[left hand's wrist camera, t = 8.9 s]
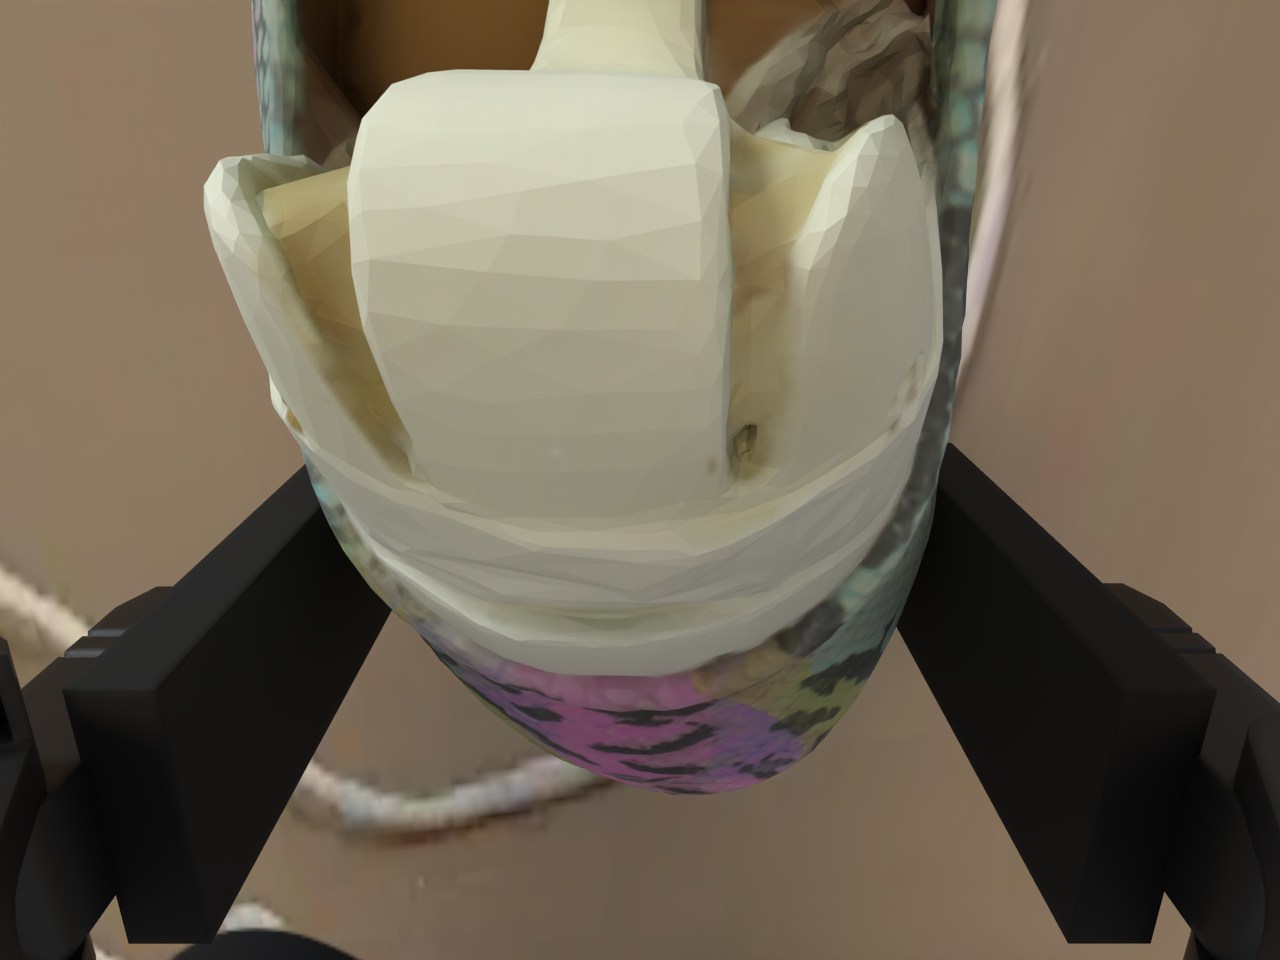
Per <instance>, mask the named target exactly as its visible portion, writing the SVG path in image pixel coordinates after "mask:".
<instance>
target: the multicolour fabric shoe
mask: <svg viewBox="0 0 1280 960" xmlns="http://www.w3.org/2000/svg"><path fill="white" fill-rule="evenodd" d="M996 1H997V0H251V6H252V27H253V49H254V64H255V72H256V81H257V90H258V98H259V107H260V115H261V124H262V133H263V141H264V150H265V153H264V154H256V155H247V156H239V157H226V158H224V159H221V160H220V161H219V162H218V164H217V166H216V167H215V169H214V170H213V172H212V174H211V175H210V177H209V179H208V180H207V182H206V183H205V185H204V211H205V215H206V219H207V222H208V226H209V230H210V234H211V238H212V242H213V246H214V248H215V251H216V253H217V256H218V258H219V260H220V263H221V265H222V268H223V270H224V273H225V275H226V278H227V280H228V283H229V285H230V288H231V290H232V293H233V295H234V297H235V300H236V302H237V305H238V307H239V310H240V312H241V315H242V317H243V320H244V322H245V324H246V326H247V328H248V330H249V332H250V334H251V336H252V339H253V341H254V343H255V345H256V347H257V349H258V351H259V353H260V355H261V358H262V360H263V362H264V364H265V366H266V368H267V370H268V372H269V378H270V389H271V400H272V405H273V407H274V408H275V409H276V411H277V412H278V414H279V415H280V417H281V418H282V420H283V421H284V423H285V424H286V426H287V427H288V429H289V430H290V432H291V433H292V435H293V436H294V438H295V439H296V440H297V442H298V443H299V445H300V446H301V450H302V453H303V457H304V460H305V463H306V467H307V470H308V473H309V476H310V480H311V483H312V486H313V488H314V491H315V493H316V496H317V498H318V500H319V503H320V505H321V508H322V510H323V512H324V514H325V517H326V519H327V521H328V523H329V525H330V527H331V529H332V531H333V533H334V534H335V536H336V538H337V540H338V542H339V543H340V545H341V547H342V549H343V551H344V552H345V553H346V555H347V556H348V557H349V559H350V560H351V562H352V563H353V564H354V566H355V567H356V568H357V570H358V571H359V572H360V574H361V575H362V577H363V578H364V579H365V581H366V582H367V583H368V585H369V586H370V587H371V589H372V590H373V591H374V592H375V593H376V594H377V595H378V596H379V597H380V598H381V599H382V600H383V601H384V602H385V603H386V604H387V605H388V606H389V607H390V608H391V609H392V610H393V611H394V612H395V613H396V614H397V615H398V616H399V617H400V618H401V619H403V620H404V621H406V622H407V623H409V624H410V625H411V626H412V627H413V628H414V629H415V630H416V631H417V632H418V633H419V634H420V635H421V637H422V638H423V640H424V641H425V642H426V643H427V644H428V645H429V646H430V647H431V648H432V650H433V651H434V652H435V654H436V655H437V657H438V658H439V659H440V661H442V662H443V663H444V664H445V665H446V666H447V667H448V668H449V669H450V670H451V671H452V672H453V673H454V674H455V675H456V676H457V677H458V679H459V680H460V681H461V682H462V683H463V684H464V685H465V686H466V687H467V688H468V689H469V690H470V691H471V692H472V694H473V695H474V696H476V697H477V698H478V699H479V700H480V701H481V702H482V703H483V704H484V705H485V706H486V707H487V708H488V709H489V710H491V711H492V712H493V713H494V714H496V715H497V716H498V717H499V718H501V719H502V720H503V721H505V722H506V723H507V724H508V725H509V726H511V727H512V728H513V729H515V730H516V731H518V732H519V733H521V734H522V735H523V736H524V737H525V738H526V739H528V740H529V741H530V742H532V743H533V744H535V745H537V746H538V747H540V748H541V749H543V750H544V751H546V752H548V753H550V754H551V755H553V756H555V757H557V758H559V759H561V760H563V761H566V762H568V763H570V764H573V765H575V766H578V767H581V768H584V769H586V770H589V771H591V772H593V773H596V774H598V775H600V776H603V777H607V778H610V779H613V780H616V781H619V782H622V783H626V784H629V785H632V786H635V787H639V788H642V789H646V790H649V791H657V792H665V793H669V794H674V795H705V794H716V793H721V792H726V791H731V790H736V789H740V788H743V787H747V786H750V785H753V784H756V783H760V782H762V781H764V780H766V779H768V778H770V777H772V776H774V775H776V774H778V773H780V772H781V771H783V770H785V769H787V768H789V767H790V766H792V765H794V764H795V763H797V762H798V761H800V760H801V759H802V758H804V757H805V756H806V755H807V754H809V753H810V752H812V751H813V750H814V749H815V747H816V746H817V745H818V744H819V743H820V742H821V741H822V740H823V739H824V738H825V736H826V735H827V734H828V733H829V732H830V730H831V729H832V728H833V727H834V726H835V725H836V723H837V722H838V721H839V720H840V719H841V717H842V716H843V715H844V714H845V712H846V711H847V710H848V708H849V707H850V706H851V704H852V703H853V702H854V700H855V699H856V698H857V696H858V695H859V693H860V691H861V690H862V688H863V686H864V685H865V683H866V681H867V680H868V678H869V676H870V675H871V673H872V671H873V670H874V668H875V666H876V664H877V662H878V661H879V659H880V657H881V655H882V653H883V651H884V649H885V647H886V645H887V644H888V642H889V640H890V638H891V636H892V634H893V632H894V630H895V628H896V626H897V623H898V621H899V618H900V616H901V613H902V611H903V608H904V606H905V603H906V601H907V598H908V595H909V593H910V590H911V588H912V585H913V583H914V580H915V578H916V575H917V572H918V569H919V566H920V563H921V560H922V557H923V554H924V551H925V548H926V545H927V542H928V539H929V535H930V531H931V527H932V523H933V517H934V510H935V503H936V493H937V483H938V476H939V469H940V466H941V463H942V459H943V456H944V453H945V449H946V446H947V442H948V439H949V432H950V426H951V419H952V412H953V406H954V399H955V390H956V379H957V374H958V369H959V364H960V360H961V342H962V325H963V321H964V318H965V310H966V289H967V274H968V260H969V233H970V224H971V215H972V207H973V200H974V194H975V187H976V181H977V153H978V141H979V134H980V127H981V119H982V110H983V101H984V91H985V81H986V70H987V61H988V52H989V44H990V37H991V31H992V25H993V20H994V14H995V9H996Z"/></svg>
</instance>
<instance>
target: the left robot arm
mask: <svg viewBox="0 0 1280 960" xmlns="http://www.w3.org/2000/svg"><path fill="white" fill-rule="evenodd" d="M391 611H392V609H391V608H390V607H389V606H388V605H387V604H386V603H385V602H384V601H383V600H382V599H381V598H380V597H379V596H378V595H377V594H376V593H375V592H374V591H373V590H372V589H371V587H370V586H369V585H368V583H367V582H366V581H365V579H364V578H363V577H362V575H361V574H360V572H359V571H358V570H357V568H356V567H355V566H354V564H353V563H352V562H351V560H350V559H349V557H348V556H347V555H346V553H345V552H344V551H343V549H342V547H341V545H340V543H339V542H338V540H337V538H336V536H335V534H334V533H333V531H332V529H331V527H330V525H329V523H328V521H327V519H326V517H325V514H324V512H323V510H322V508H321V505H320V503H319V500H318V498H317V496H316V493H315V491H314V488H313V486H312V483H311V480H310V476H309V473H308V470H307V467H306V464H305V465H304V466H303V467H302V468H300V469H299V470H298V471H297V472H296V473H295V474H294V475H293V476H292V477H291V478H290V479H289V480H288V481H286V482H285V483H284V484H283V485H282V486H281V487H280V488H279V489H278V490H277V491H276V492H275V493H273V494H272V495H271V496H270V497H269V498H268V499H267V500H266V501H265V502H264V503H263V504H262V505H261V506H259V507H258V508H257V509H256V510H255V511H254V512H253V513H252V514H251V515H250V516H249V517H248V518H247V519H245V520H244V521H243V522H242V523H241V524H240V525H239V526H238V527H237V528H236V529H235V530H234V531H233V532H231V533H230V534H229V535H228V536H227V537H226V538H225V539H224V540H223V541H222V542H221V543H220V544H219V545H217V546H216V547H215V548H214V549H213V550H212V551H211V552H210V553H209V554H208V555H207V556H206V557H205V558H203V559H202V560H201V561H200V562H199V563H198V564H197V565H196V566H195V567H194V568H193V569H192V570H191V571H189V572H188V573H187V574H186V575H185V576H184V577H183V578H182V579H181V580H180V581H179V582H178V583H176V584H175V585H174V586H173V587H155V588H153V589H151V590H149V591H147V592H145V593H143V594H141V595H139V596H137V597H135V598H133V599H131V600H129V601H127V602H125V603H123V604H121V605H119V606H118V607H116V608H115V609H113V610H112V611H111V612H110V613H109V614H108V615H107V616H105V617H104V618H103V619H102V620H101V621H100V622H98V623H97V624H96V625H95V626H94V627H93V628H91V629H90V630H89V631H88V636H82V637H81V638H80V639H79V640H78V641H76V642H75V643H74V644H73V645H72V646H71V647H70V648H68V649H67V650H66V651H65V655H64V657H58V658H57V659H56V660H55V661H53V662H52V663H51V664H50V665H49V666H48V667H46V668H45V669H44V670H43V671H42V672H41V673H40V674H38V675H37V676H36V677H35V678H34V679H33V680H31V681H30V682H29V683H28V684H27V685H26V686H25V687H23V688H22V689H20V685H19V682H18V678H17V674H16V671H15V667H14V664H13V660H12V657H11V653H10V650H9V646H8V643H7V641H6V640H5V639H3V638H1V637H0V960H96V954H95V951H94V947H93V944H92V940H91V937H90V933H89V932H90V931H91V929H92V928H93V926H94V925H95V924H96V922H97V921H98V919H99V918H100V917H101V915H102V914H103V912H104V911H105V910H106V908H107V907H108V905H109V904H110V902H111V901H112V900H113V898H114V897H115V895H116V897H117V901H118V905H119V908H120V912H121V916H122V920H123V924H124V927H125V931H126V935H127V939H128V943H129V944H208V943H209V944H210V943H212V941H213V939H214V937H215V935H216V934H217V932H218V930H219V928H220V926H221V924H222V923H223V921H224V919H225V917H226V915H227V913H228V911H229V910H230V908H231V906H232V904H233V902H234V900H235V899H236V897H237V895H238V893H239V891H240V889H241V887H242V886H243V884H244V882H245V880H246V878H247V876H248V875H249V873H250V871H251V869H252V867H253V865H254V863H255V862H256V860H257V858H258V856H259V854H260V852H261V851H262V849H263V847H264V845H265V843H266V841H267V840H268V838H269V836H270V834H271V832H272V830H273V828H274V827H275V825H276V823H277V821H278V819H279V817H280V816H281V814H282V812H283V810H284V808H285V806H286V804H287V803H288V801H289V799H290V797H291V795H292V793H293V792H294V790H295V788H296V786H297V784H298V782H299V781H300V779H301V777H302V775H303V773H304V771H305V769H306V768H307V766H308V764H309V762H310V760H311V758H312V757H313V755H314V753H315V751H316V749H317V747H318V745H319V744H320V742H321V740H322V738H323V736H324V734H325V733H326V731H327V729H328V727H329V725H330V723H331V722H332V720H333V718H334V716H335V714H336V712H337V710H338V709H339V707H340V705H341V703H342V701H343V699H344V698H345V696H346V694H347V692H348V690H349V688H350V686H351V685H352V683H353V681H354V679H355V677H356V675H357V674H358V672H359V670H360V668H361V666H362V664H363V662H364V661H365V659H366V657H367V655H368V653H369V651H370V650H371V648H372V646H373V644H374V642H375V640H376V639H377V637H378V635H379V633H380V631H381V629H382V627H383V626H384V624H385V622H386V620H387V618H388V616H389V615H390V613H391ZM896 627H897V629H898V631H899V632H900V634H901V636H902V638H903V640H904V642H905V643H906V645H907V647H908V649H909V651H910V653H911V654H912V656H913V658H914V660H915V662H916V664H917V666H918V667H919V669H920V671H921V673H922V675H923V677H924V678H925V680H926V682H927V684H928V686H929V688H930V690H931V691H932V693H933V695H934V697H935V699H936V701H937V702H938V704H939V706H940V708H941V710H942V712H943V714H944V715H945V717H946V719H947V721H948V723H949V725H950V726H951V728H952V730H953V732H954V734H955V736H956V737H957V739H958V741H959V743H960V745H961V747H962V749H963V750H964V752H965V754H966V756H967V758H968V760H969V761H970V763H971V765H972V767H973V769H974V771H975V773H976V774H977V776H978V778H979V780H980V782H981V784H982V785H983V787H984V789H985V791H986V793H987V795H988V797H989V798H990V800H991V802H992V804H993V806H994V808H995V809H996V811H997V813H998V815H999V817H1000V819H1001V820H1002V822H1003V824H1004V826H1005V828H1006V830H1007V832H1008V833H1009V835H1010V837H1011V839H1012V841H1013V843H1014V844H1015V846H1016V848H1017V850H1018V852H1019V854H1020V856H1021V857H1022V859H1023V861H1024V863H1025V865H1026V867H1027V868H1028V870H1029V872H1030V874H1031V876H1032V878H1033V880H1034V881H1035V883H1036V885H1037V887H1038V889H1039V891H1040V892H1041V894H1042V896H1043V898H1044V900H1045V902H1046V903H1047V905H1048V907H1049V909H1050V911H1051V913H1052V915H1053V916H1054V918H1055V920H1056V922H1057V924H1058V926H1059V927H1060V929H1061V931H1062V933H1063V935H1064V937H1065V939H1066V940H1067V942H1068V943H1142V944H1150V943H1151V940H1152V936H1153V932H1154V928H1155V924H1156V921H1157V917H1158V913H1159V909H1160V905H1161V902H1162V898H1163V894H1164V892H1165V893H1166V894H1167V896H1168V897H1169V899H1170V900H1171V901H1172V903H1173V904H1174V906H1175V907H1176V908H1177V910H1178V911H1179V913H1180V914H1181V915H1182V917H1183V918H1184V920H1185V921H1186V922H1187V924H1188V925H1189V927H1190V928H1191V929H1192V930H1191V933H1190V937H1189V940H1188V944H1187V947H1186V951H1185V954H1184V958H1183V960H1280V703H1279V702H1277V701H1276V700H1275V699H1274V698H1273V697H1272V696H1270V695H1269V694H1268V693H1267V692H1266V691H1265V690H1263V689H1262V688H1261V687H1260V686H1259V685H1258V684H1257V683H1255V682H1254V681H1253V680H1252V679H1251V678H1250V677H1248V676H1247V675H1246V674H1245V673H1244V672H1243V671H1241V670H1240V669H1239V668H1238V667H1237V666H1236V665H1234V664H1233V663H1232V662H1231V661H1230V660H1229V659H1227V658H1226V657H1225V656H1224V655H1223V654H1216V651H1215V649H1216V648H1215V647H1213V646H1212V645H1211V644H1210V643H1209V642H1208V641H1206V640H1205V639H1204V638H1203V637H1202V636H1201V635H1199V634H1198V633H1192V628H1191V627H1190V626H1189V625H1188V624H1187V623H1185V622H1184V621H1183V620H1182V619H1181V618H1180V617H1178V616H1177V615H1176V614H1175V613H1174V612H1173V611H1172V610H1170V609H1169V608H1168V607H1167V606H1166V605H1165V604H1163V603H1161V602H1159V601H1157V600H1155V599H1153V598H1151V597H1149V596H1147V595H1145V594H1143V593H1141V592H1139V591H1137V590H1135V589H1133V588H1131V587H1129V586H1127V585H1125V584H1123V583H1102V582H1101V581H1100V580H1098V579H1097V578H1096V577H1095V576H1094V575H1093V574H1092V573H1091V572H1090V571H1089V570H1088V569H1087V568H1086V567H1084V566H1083V565H1082V564H1081V563H1080V562H1079V561H1078V560H1077V559H1076V558H1075V557H1074V556H1073V555H1072V554H1070V553H1069V552H1068V551H1067V550H1066V549H1065V548H1064V547H1063V546H1062V545H1061V544H1060V543H1059V542H1058V541H1056V540H1055V539H1054V538H1053V537H1052V536H1051V535H1050V534H1049V533H1048V532H1047V531H1046V530H1045V529H1043V528H1042V527H1041V526H1040V525H1039V524H1038V523H1037V522H1036V521H1035V520H1034V519H1033V518H1032V517H1031V516H1029V515H1028V514H1027V513H1026V512H1025V511H1024V510H1023V509H1022V508H1021V507H1020V506H1019V505H1018V504H1017V503H1015V502H1014V501H1013V500H1012V499H1011V498H1010V497H1009V496H1008V495H1007V494H1006V493H1005V492H1004V491H1003V490H1001V489H1000V488H999V487H998V486H997V485H996V484H995V483H994V482H993V481H992V480H991V479H990V478H989V477H987V476H986V475H985V474H984V473H983V472H982V471H981V470H980V469H979V468H978V467H977V466H976V465H975V464H973V463H972V462H971V461H970V460H969V459H968V458H967V457H966V456H965V455H964V454H963V453H962V452H961V451H959V450H958V449H957V448H956V447H955V446H954V445H953V444H952V443H947V446H946V449H945V453H944V456H943V459H942V463H941V466H940V469H939V476H938V483H937V493H936V503H935V510H934V517H933V523H932V527H931V531H930V535H929V539H928V542H927V545H926V548H925V551H924V554H923V557H922V560H921V563H920V566H919V569H918V572H917V575H916V578H915V580H914V583H913V585H912V588H911V590H910V593H909V595H908V598H907V601H906V603H905V606H904V608H903V611H902V613H901V616H900V618H899V621H898V623H897V626H896Z"/></svg>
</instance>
